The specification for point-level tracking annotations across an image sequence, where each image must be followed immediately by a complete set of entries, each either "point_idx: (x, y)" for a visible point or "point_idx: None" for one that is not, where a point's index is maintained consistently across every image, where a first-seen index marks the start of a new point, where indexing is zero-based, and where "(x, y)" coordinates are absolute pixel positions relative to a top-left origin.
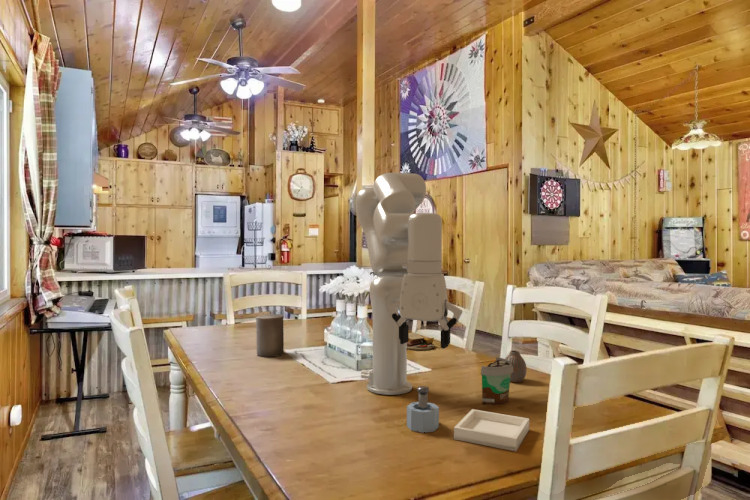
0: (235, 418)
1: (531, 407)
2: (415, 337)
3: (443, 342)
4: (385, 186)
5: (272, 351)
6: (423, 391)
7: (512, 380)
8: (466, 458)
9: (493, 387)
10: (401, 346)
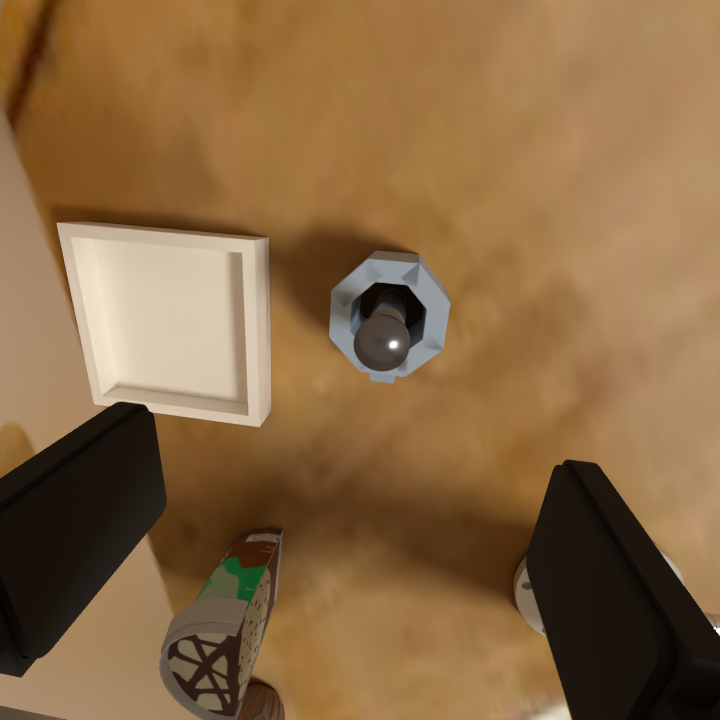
0: None
1: (167, 537)
2: None
3: (79, 427)
4: None
5: None
6: (371, 317)
7: (259, 687)
8: (183, 95)
9: (230, 569)
10: None
